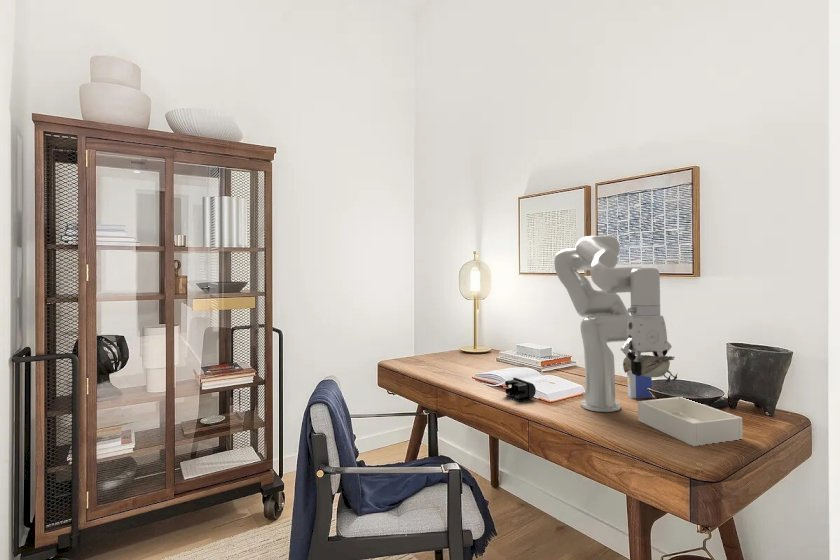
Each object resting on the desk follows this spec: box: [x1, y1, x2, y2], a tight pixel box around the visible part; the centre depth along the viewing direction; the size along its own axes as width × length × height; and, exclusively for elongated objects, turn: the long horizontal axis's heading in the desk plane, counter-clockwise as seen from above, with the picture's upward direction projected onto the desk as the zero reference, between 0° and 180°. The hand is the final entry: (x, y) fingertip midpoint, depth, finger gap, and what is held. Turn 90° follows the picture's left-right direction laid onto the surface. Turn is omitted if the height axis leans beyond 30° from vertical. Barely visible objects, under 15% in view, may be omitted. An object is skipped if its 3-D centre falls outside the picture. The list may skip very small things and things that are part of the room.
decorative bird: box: [622, 354, 678, 385], centre depth 129 cm, size 5×16×8 cm, turn 26°
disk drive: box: [687, 393, 729, 409], centre depth 155 cm, size 10×3×15 cm
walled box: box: [637, 396, 744, 447], centre depth 132 cm, size 22×16×6 cm
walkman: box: [626, 371, 653, 399], centre depth 166 cm, size 8×3×12 cm, turn 90°
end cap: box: [504, 377, 537, 403], centre depth 170 cm, size 10×7×7 cm
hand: (646, 373), depth 130 cm, fingers closed on decorative bird, 5 cm apart
